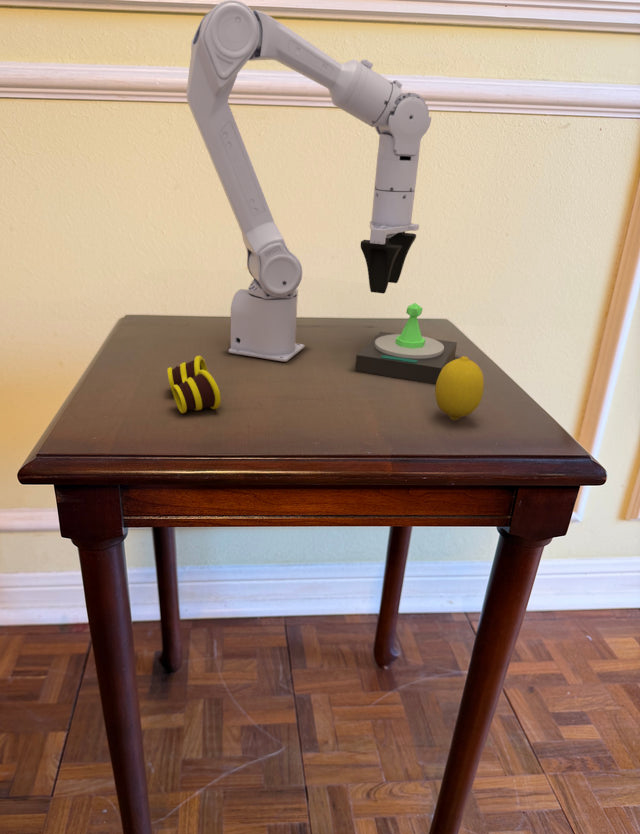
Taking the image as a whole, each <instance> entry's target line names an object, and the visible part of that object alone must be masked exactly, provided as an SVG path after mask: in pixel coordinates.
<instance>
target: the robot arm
mask: <svg viewBox="0 0 640 834" xmlns="http://www.w3.org/2000/svg"><path fill="white" fill-rule="evenodd" d="M190 45H191V46H190V60H189V68H188V78H187V85H186V101H187V105H188V107H189V109H190V113H191V114H192V118H193V119H194V121H195V124H196V126H197V129H198V131H199V133H200V136H201V138H202V141H203V144H204V146H205V148H206V150H207V153H208V155H209V157H210V160H211V163H212V165H213V167H214V169H215V172H216V174H217V176H218V180H219V182H220V184H221V187H222V188H223V191H224V194H225V196H226V198H227V201H228V203H229V206H230V208H231V210H232V213H233V215H234V217H235V220H236V222H237V224H238V228H239V230H240V233H241V236H242V243H243V244H244V246H245V249H246V267H247V270H248V273H249V274H250V276H251V277H252V278H253V279H252V281H251V282H250V284H249V286H248V288H247V289H244V288H240V289H238V290H237V291H236V292H235V293H234V295H233V297H232V301H231V303H230V348H229V349H228V353H229V354H233V355H240V356H247V357H253V358H259V359H265V360H270V361H278V362H283V363H284V362H285V363H286V362H288V361H290V360H291V359H292V358H294V357H295V355H297V354H298V353H299V352H301V351H302V350H303V349H305V344H302V343H296V341H297V317H298V316H297V315H298V292H299V290H298V287H299V286H300V284H301V282H302V279H303V266H302V264H301V261H300V260H299V258H298V257H297V256H296V255H295V254H294V253H293V252H291V251H290V249H289V248H288V246H287V243H286V241H285V238H284V237H283V234H282V233H281V232H280V229H279V228H278V226H277V224H276V222H275V220H274V217H273V215H272V213H271V210H270V207H269V205H268V202H267V200H266V197H265V194H264V192H263V189H262V186H261V184H260V181H259V179H258V176H257V174H256V171H255V169H254V165H253V163H252V160H251V158H250V155H249V153H248V150H247V148H246V145H245V143H244V139H243V138H242V135H241V132H240V130H239V127H238V124H237V121H236V119H235V117H234V115H233V112H232V110H231V107H230V104H229V98H230V95H231V92H232V90H233V88H234V85H235V83H236V80H237V77H238V74H239V73H240V71H241V70H242V69H243V67H244V66H246V64H247V63H248V62H255V61H276V62H278V63H279V64H280V65H281V64H282V65H283V66H285V67H287V68H288V69H291V70H292V71H294V72H296V73H298V74H300V75H302V76H304V77H305V78H308V79H310V80H311V81H313V82H315V83H317V84H319V85H320V86H323V87H324V88H326V89H328V92H329V95H330V99H331V102H332V104H333V106H335V107H337V108H338V109H340V110H342V111H344V112H345V113H347V114H349V115H350V116H353V117H354V118H355V119H356V120H357V119H358V120H359V121H361V122H362V123H364V124H366V125H368V126H370V127H371V128H374V130H375V131H376V133H377V135H378V136H379V137H378V147H377V149H378V150H377V154H376V155H377V156H376V164H375V165H376V167H375V176H374V177H375V179H374V188H373V197H372V199H373V200H372V210H371V220H370V221H369V229H370V236H369V239H363V240H360V250H361V251H362V254H363V257H364V259H365V263H366V267H367V269H366V270H367V275H368V284H369V290H370V293H376V294H385V293H386V292H387V289H388V286H389V283H391V284H398V282H399V280H400V277H401V274H402V271H403V268H404V264H405V261H406V258H407V256H408V253H409V251H410V249H411V247H412V245H413V243H414V242H415V241H416V239H417V234H416V233H412V231H415V232H416V231H418V230H420V224H419V223H412V220H413V219H412V218H413V210H414V202H415V192H416V185H417V176H418V169H419V168H418V167H419V160H420V159H419V158H420V149H421V140H422V139H423V137H424V136H425V135H426V133H427V132H428V130H429V129H430V126H431V122H432V117H431V116H430V114H429V113H430V111H429V107H428V104H426V100H425V99H424V98H423V97H422V96H421V95H420V94H418V93H415V92H403V90H402V86H403V83H402V82H400V81H399V80H393V81H392V80H391V81H390V80H389V79H387V78H386V77H385V76H383V75H381V74H380V73H378V72H376V71H374V70H373V69H372V68H373V66H374V65H373V62H371V61H369V60H368V59H361V60H360V61H359V60H357V59H351V60H348V61H346V62H344V63H343V62H342V63H341V62H339V61H337V60H336V59H335V58H334V57H332V56H330V55H329V54H328V53H326V52H324V51H323V50H322V49H320V48H319V47H317V46H315V44H313V43H311V42H310V41H309V40H307V39H306V38H304V37H302V36H301V35H299V34H298V33H296V32H295V31H293V30H292V29H290V28H289V27H287V26H286V25H285V24H283V23H282V22H280V21H278V19H276V18H274V17H272V16H270V15H269V14H267V13H265V12H263V11H260V10H258V9H254V10H252V9H251V8H250V7H249V5H247V4H246V3H245V2H242V1H240V0H223V1H220V2H219V3H217V4H216V5H215V6H214V7H213V8H212V9H211V10H210V11H208V12H207V13H205V15H204V16H203V17H202V19H201V21H200V22H199V24H198V27H197V29H196V31H195V33H194V35H193V37H192V39H191V44H190ZM410 231H411V232H410Z"/></svg>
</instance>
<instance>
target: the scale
mask: <svg viewBox="0 0 640 834" xmlns="http://www.w3.org/2000/svg"><path fill="white" fill-rule="evenodd" d="M399 335H401V333H392V332H387V331H379V332H378V333H377V334H376V335H375V336H374V337H373V338H372V339H370V341H369V342H368V343H367V344H366V345H365V346H363V348H362V349H361V350H359V352H357V354H356V356H355V368H354V371H355V372H358V373H359V372H360V373H365V374H370V375H371V374H372V375H378V376H384V377H390V378H396V379H402V380H408V381H415V382H422V383H427V384H433V385H436V382H437V379H438V376H439V374H440V372H441V370H442V369H443V367H444V366H445V365H446V364H448V363H449V362H451V361H453V360H455V359H456V351H457V344H458V342H456V341H451V340H444V339H443V340H442V339H435V338H431V337H429V336H423V335H421V336H422V338H424V339H425V345H424V346H423V347H422V348H406V347H401V346H399V345H397V344H395V343H396V338H397V337H398V336H399Z"/></svg>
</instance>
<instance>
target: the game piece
mask: <svg viewBox="0 0 640 834" xmlns="http://www.w3.org/2000/svg"><path fill="white" fill-rule="evenodd" d="M422 312H423V307H422V306H420V305H419V304H417V302H414V303H412V304H410V305H408V306H407V307H406V314H407V315H408V316H409V318H408V319H407V322H406V323H405V325H404V327H403V329H402V331H401V332H400V334H401V335H399V336H398V337H397V338H396V343H395V344H397V345H399V346H401V347H406V348H422V347H423V346H424V345H425V339H424V338H422V336H423V335H422V333H421V328H420V325H419V320H418V317H420V316H421V315H422Z"/></svg>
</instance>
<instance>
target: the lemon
mask: <svg viewBox="0 0 640 834" xmlns="http://www.w3.org/2000/svg"><path fill="white" fill-rule="evenodd" d="M482 371H483V370H482V369H481V368H480V367H479V365H478V364H477V363H476V362H474V361H473V360H471V359H469V357H468V356H466V355H463V356H461V357H460V358H454V359H453V361H451V362H449V363H448V364H446V365H445V366H444V367H443V369H442V370H441V372H440V374H439V376H438V379H437V382H436V384H435V388H434V389H435V390H434V395H435V401H436V405H437V406H438V408H439V409H440V410H441V412H443V413H444V414H445V415H447V416H449V418H450V419H451V420H452V421H458V420H459V419H460V418H463V417H466V416H470V414H472V413H473V412H474V411H475V410H477V408H478V407H479V405H480V403H481V401H482V399H483V395H484V388H485V381H484V379H485V378H484V374H483V372H482Z"/></svg>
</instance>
